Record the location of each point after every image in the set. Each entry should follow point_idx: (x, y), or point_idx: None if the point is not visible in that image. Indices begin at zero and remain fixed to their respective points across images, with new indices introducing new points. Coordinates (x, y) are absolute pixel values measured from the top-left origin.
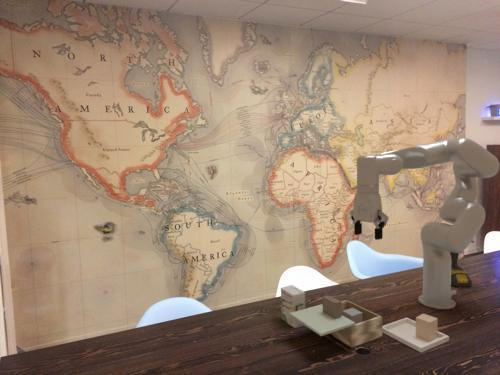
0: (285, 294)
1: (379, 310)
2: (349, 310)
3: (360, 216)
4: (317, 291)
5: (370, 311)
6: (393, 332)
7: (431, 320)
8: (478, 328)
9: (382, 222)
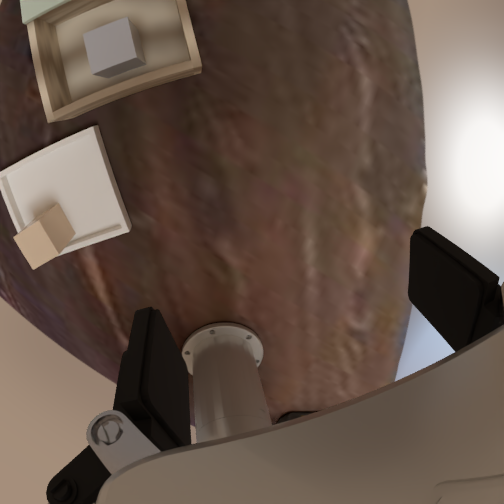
0: None
1: (224, 198)
2: (120, 39)
3: (477, 432)
4: (409, 102)
5: (87, 101)
6: (58, 147)
7: (22, 248)
8: (92, 346)
9: (54, 500)
